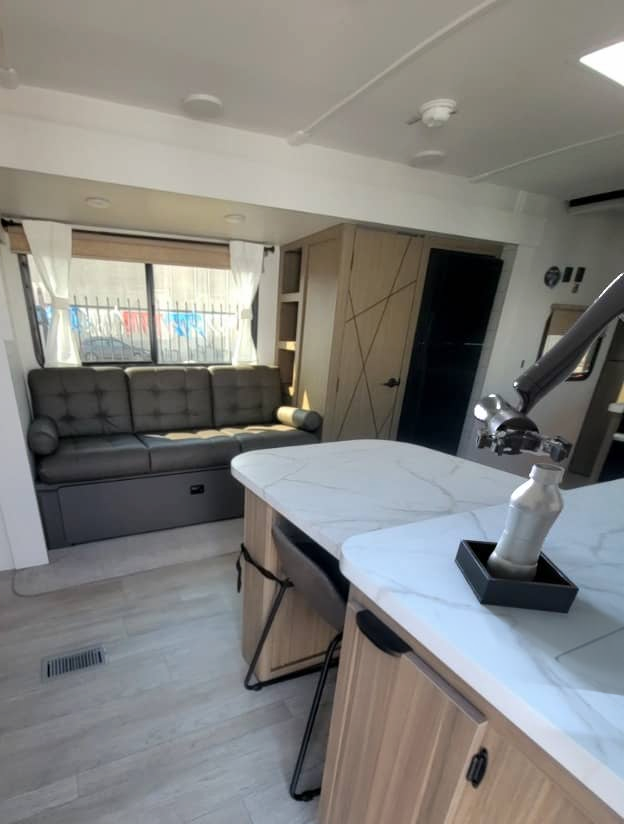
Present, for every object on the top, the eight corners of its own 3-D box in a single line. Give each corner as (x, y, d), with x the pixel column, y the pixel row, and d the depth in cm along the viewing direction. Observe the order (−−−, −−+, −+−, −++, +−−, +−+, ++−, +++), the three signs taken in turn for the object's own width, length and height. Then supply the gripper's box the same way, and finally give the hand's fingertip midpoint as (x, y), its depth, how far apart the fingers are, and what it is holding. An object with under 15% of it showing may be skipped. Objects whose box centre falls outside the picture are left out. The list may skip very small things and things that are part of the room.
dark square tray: (528, 567, 72) (536, 545, 70) (567, 613, 61) (579, 589, 59) (454, 560, 73) (461, 539, 71) (480, 603, 62) (488, 579, 60)
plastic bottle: (485, 565, 71) (523, 456, 62) (531, 579, 68) (577, 466, 59) (480, 582, 66) (519, 467, 58) (528, 598, 63) (578, 478, 54)
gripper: (545, 454, 81) (572, 480, 67) (466, 445, 85) (476, 468, 72) (559, 416, 78) (590, 436, 64) (476, 409, 82) (488, 426, 68)
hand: (529, 453), depth 68 cm, fingers open, 8 cm apart
